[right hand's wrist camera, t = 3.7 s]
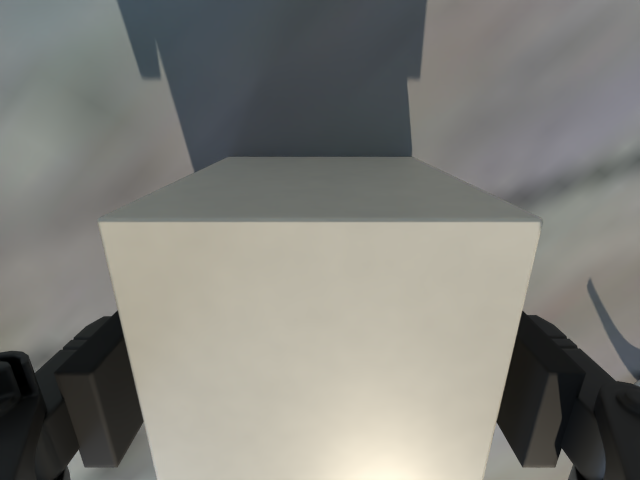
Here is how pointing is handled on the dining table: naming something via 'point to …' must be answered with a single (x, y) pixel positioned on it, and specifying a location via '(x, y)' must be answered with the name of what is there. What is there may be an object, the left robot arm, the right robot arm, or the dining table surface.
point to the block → (320, 318)
